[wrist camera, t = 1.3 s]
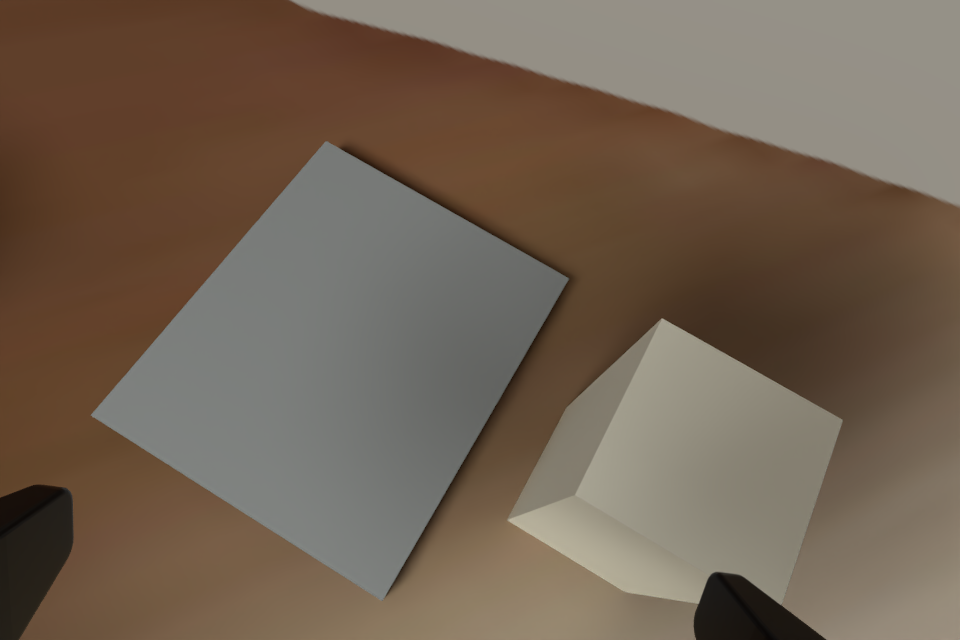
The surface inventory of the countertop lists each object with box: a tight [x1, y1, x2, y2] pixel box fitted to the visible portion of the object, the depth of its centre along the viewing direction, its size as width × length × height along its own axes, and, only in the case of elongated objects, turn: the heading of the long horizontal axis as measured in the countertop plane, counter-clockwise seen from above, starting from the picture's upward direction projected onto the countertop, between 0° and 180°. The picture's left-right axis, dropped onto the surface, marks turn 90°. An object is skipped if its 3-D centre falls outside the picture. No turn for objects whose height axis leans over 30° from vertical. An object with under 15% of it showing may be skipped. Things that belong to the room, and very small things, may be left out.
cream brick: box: [507, 318, 843, 606], centre depth 19 cm, size 5×5×10 cm
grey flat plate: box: [91, 141, 569, 601], centre depth 24 cm, size 12×14×1 cm
